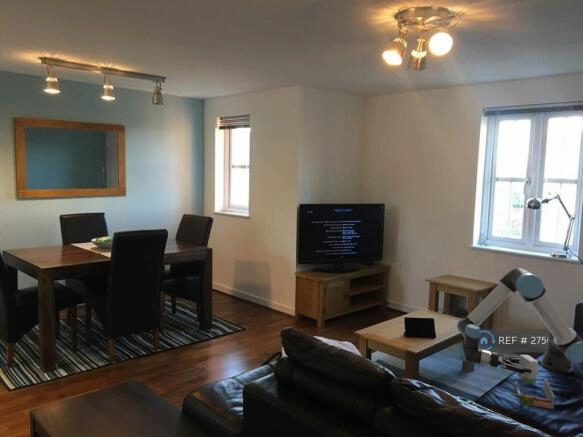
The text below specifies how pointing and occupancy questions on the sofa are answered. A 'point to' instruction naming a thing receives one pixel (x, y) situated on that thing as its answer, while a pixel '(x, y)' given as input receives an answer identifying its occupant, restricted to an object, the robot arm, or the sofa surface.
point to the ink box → (531, 363)
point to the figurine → (525, 399)
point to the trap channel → (541, 402)
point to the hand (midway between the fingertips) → (537, 368)
